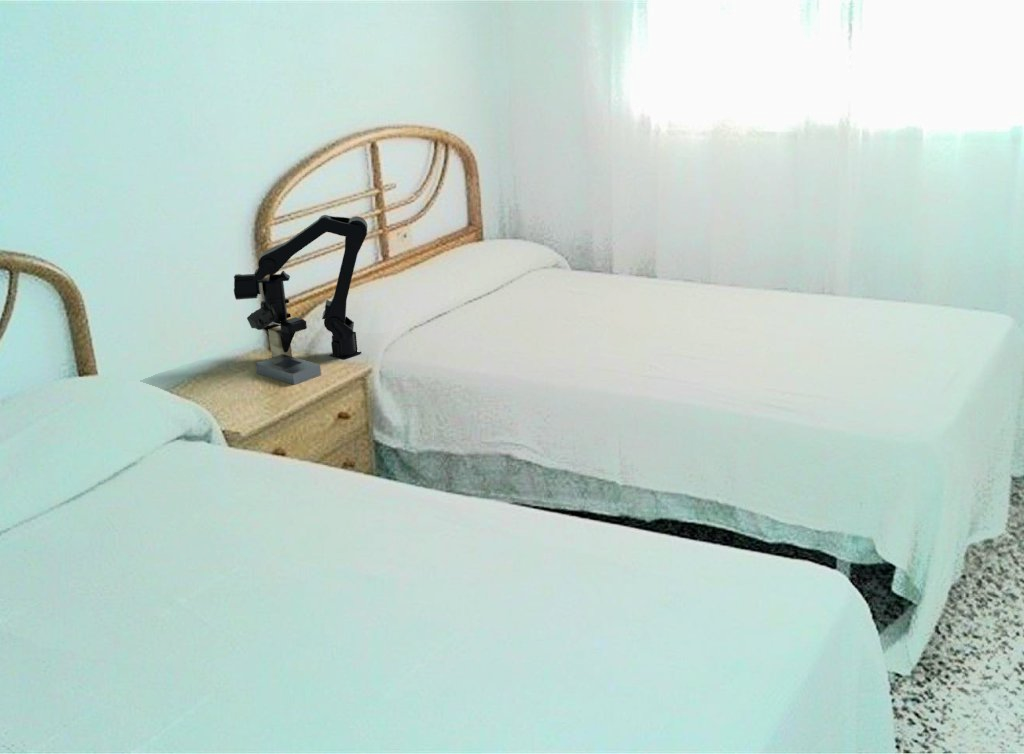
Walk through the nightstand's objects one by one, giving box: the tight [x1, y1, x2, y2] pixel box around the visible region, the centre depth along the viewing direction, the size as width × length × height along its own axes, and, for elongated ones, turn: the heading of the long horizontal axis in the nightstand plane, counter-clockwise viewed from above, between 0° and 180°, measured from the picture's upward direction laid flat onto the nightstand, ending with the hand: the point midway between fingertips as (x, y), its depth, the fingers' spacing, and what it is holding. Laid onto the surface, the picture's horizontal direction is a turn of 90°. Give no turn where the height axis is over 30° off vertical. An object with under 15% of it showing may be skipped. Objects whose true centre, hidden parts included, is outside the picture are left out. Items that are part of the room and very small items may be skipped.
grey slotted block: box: [255, 354, 322, 385], centre depth 278 cm, size 9×16×3 cm, turn 49°
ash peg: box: [268, 326, 293, 358], centre depth 289 cm, size 4×4×9 cm
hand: (281, 350), depth 290 cm, fingers closed on ash peg, 4 cm apart
